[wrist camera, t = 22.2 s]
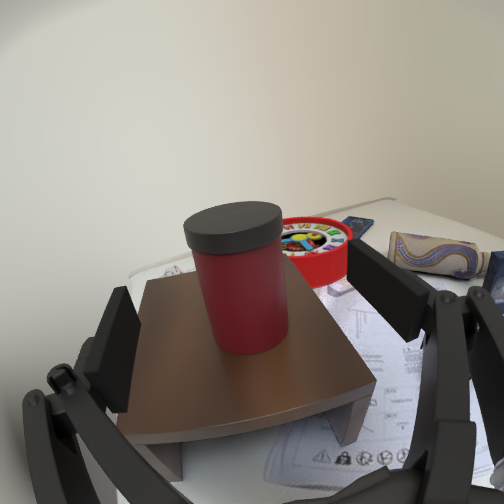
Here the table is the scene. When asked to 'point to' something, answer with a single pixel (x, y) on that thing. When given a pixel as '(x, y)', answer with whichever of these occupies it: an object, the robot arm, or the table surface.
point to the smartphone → (357, 225)
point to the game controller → (172, 271)
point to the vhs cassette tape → (495, 278)
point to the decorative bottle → (437, 255)
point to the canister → (241, 273)
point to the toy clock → (317, 248)
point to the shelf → (236, 374)
